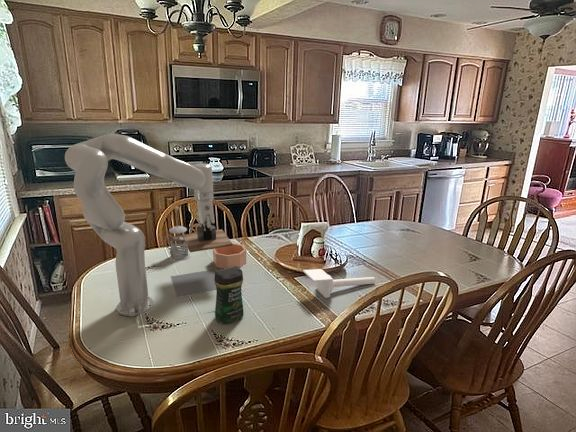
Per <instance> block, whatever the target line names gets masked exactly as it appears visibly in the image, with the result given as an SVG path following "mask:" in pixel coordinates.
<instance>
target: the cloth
mask: <svg viewBox="0 0 576 432" xmlns="http://www.w3.org/2000/svg"><path fill="white" fill-rule="evenodd" d="M205 228H206V226H205ZM203 231H204V227H201V226H198V227H196V232H194V233H187V234H183V238H184V241H185V242H184V243H186V245H187V247H188V253H195V252H201V251H208V250H213V249H215V248H221V247H228V246H233V244H232V243H233V242H232V241H231V239H230V238H229V236H228V235H227V234H226V233H225V231H224V230H223V229H216V226H215V225H213V224H211V232H212V239H211V240H204V234H203Z"/></svg>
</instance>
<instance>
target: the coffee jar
mask: <svg viewBox="0 0 576 432" xmlns="http://www.w3.org/2000/svg"><path fill="white" fill-rule="evenodd" d="M214 272H215V278H214V282H215V285H216V290H215V291H216V293H215V294H216V296H215V298H216V299H215V308H214V309H215V310H214V316H215V317H214V318H215V319H216V320H217V321H218V322H219V323H221V324H225V325H226V324H229V323H233V322H236V321H238V320H241V319H242V318H243V317H244V314H245V313H244V312H245V311H244V304H243V294H242V285H243V283H244V275H243V270H242V269H241V267H239V268H238V267H237V266H235V267H230V268H226V269H224V268H221V269H219V270H216V271H214Z"/></svg>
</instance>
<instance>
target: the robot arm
mask: <svg viewBox="0 0 576 432" xmlns="http://www.w3.org/2000/svg"><path fill="white" fill-rule="evenodd" d="M111 160H116V161H118V162H121V163H123V164H127V165H129V166H131V167H133V168H135V169H138V170H140V171H142V172H145V173H147V174H150V175H152V176H155V177H159V178H163V179H167V180H169V181H170V180H171V181H172V182H173V183H174V184H175V185H178V186H181V187H183V188H188V189H192V190H193V197H194V200H195V201H196V202H197V203H196V204H197V215H198V219H199V222H200V227H204V231H203V234H204V240H211V239H212V232H211V225H213V224H215V214H214V213H215V212H214V204H213V200H214V199H215V197H214V185H213V184H214V181H213V169H212V168H213V167H212V165H211V164H209V163H195V164H193V165H191V164H189V163H188V162H187V163H186V162H185V161H183V160H180V159H177V158H175V157H173V156H171V155H169V154H167V153H164V152H162V151H160V150H157V149H156V148H154V147H151V146H150V145H147V144H145V143H143V142H141V141H139V140H137V139H135V138H133V137H131V136H129V135H124V134H121V133H107V134H103V135H101V136H98V137H94V138H91V139H88V140H85V141H81V142H78V143H75V144H73V145H71V146H70V147H69V148H68V149H66V151H65V154H64V161H65V163H66V166H67V167H68V168H70V169H71V170H73V171H74V172H75V173H74V179H73V191H74V193H75V195H76V197H77V198H78V200H79V202H81V204H82V207H81V209H82V216H83V217H84V219H85V221H86V222H87V223H88V224H89V226H90V227H91V228H92V229H93V231H94V232H95V233H96V234H97V235H98V237H100V239H101V240H102V241H103V242H104V243H106V244H108V245H109V246H111V247H112V248H114V249H115V250H116V255H115V271H116V277H117V287H118V294H119V302H118V304H117V305H116V308H115V310H116V312H117V314H119V315H121V316H123V317H136V316H139V315H142V314H144V313H146V312H148V311H150V310H151V309H152V308H153V306H154V299H153V298H152V297H150V296H149V288H148V279H147V271H146V270H147V269H146V268H147V267H146V261H145V249H146V237H145V234H144V232H143V231H142V230H141V229H140V228H139V227H137V225H133V224H131V223H129V222H126V221H125V220H126V215H125V211H124V210H123V208H122V206H121V205H120V204H119V203H118V202H117V200H116V198H114V196H113V195H112V193H111V192H110V191H109V188H107V186H106V184H105V175H106V173H107V171H108V166H109V165H108V164H109V161H111ZM205 226H206V228H205Z"/></svg>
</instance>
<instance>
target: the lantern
mask: <svg viewBox="0 0 576 432" xmlns="http://www.w3.org/2000/svg"><path fill="white" fill-rule="evenodd" d="M174 210H176V212H178V210H180V209H179V206H174ZM176 221H177V222H176V223H177V226H173V227H171V228H170V229H169V233H168V234H166V235H165V236H164V239H163V244H164V246H165V247H166V249H168V250H170V255H169V260H170V261H173V262H181V261H182V262H183V261H187V260H189V259H191V257H192V256H191V254H190V253H189V249H188V247H187V245H186V243H185V241H184V238H183V235H184V234H183V235H180V234H182V233H186V232H187V231H188V228H187V227H185V226H182V225H179V221H178V218H176ZM171 234H176V235H171ZM168 237H170V243H169V244H170V247H168V246H167V239H168Z"/></svg>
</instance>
